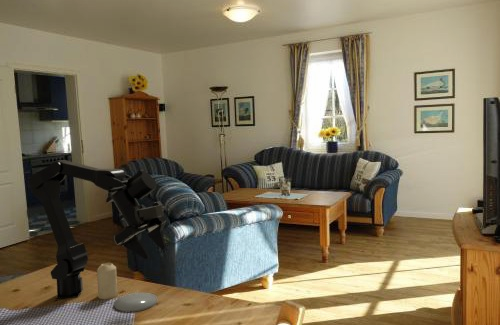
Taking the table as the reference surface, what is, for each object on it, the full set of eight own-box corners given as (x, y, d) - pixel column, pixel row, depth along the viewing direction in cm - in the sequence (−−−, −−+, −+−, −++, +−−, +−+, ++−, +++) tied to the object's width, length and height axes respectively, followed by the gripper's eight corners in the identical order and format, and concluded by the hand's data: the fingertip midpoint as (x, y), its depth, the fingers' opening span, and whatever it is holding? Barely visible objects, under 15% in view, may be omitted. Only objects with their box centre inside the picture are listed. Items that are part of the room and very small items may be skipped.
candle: (111, 299, 121) (109, 267, 120) (94, 298, 122) (93, 266, 121) (120, 293, 126) (119, 261, 126) (104, 291, 127) (103, 260, 127)
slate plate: (111, 313, 111) (111, 311, 111) (117, 297, 123) (117, 294, 123) (156, 309, 113) (156, 306, 113) (157, 293, 125) (157, 291, 125)
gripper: (129, 198, 106) (159, 249, 104) (165, 189, 124) (191, 232, 122) (100, 219, 109) (129, 269, 108) (139, 207, 127) (165, 250, 125)
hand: (156, 254), depth 115 cm, fingers open, 9 cm apart
